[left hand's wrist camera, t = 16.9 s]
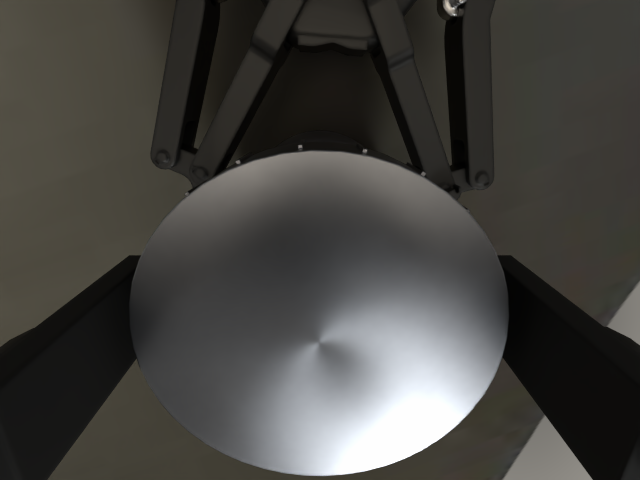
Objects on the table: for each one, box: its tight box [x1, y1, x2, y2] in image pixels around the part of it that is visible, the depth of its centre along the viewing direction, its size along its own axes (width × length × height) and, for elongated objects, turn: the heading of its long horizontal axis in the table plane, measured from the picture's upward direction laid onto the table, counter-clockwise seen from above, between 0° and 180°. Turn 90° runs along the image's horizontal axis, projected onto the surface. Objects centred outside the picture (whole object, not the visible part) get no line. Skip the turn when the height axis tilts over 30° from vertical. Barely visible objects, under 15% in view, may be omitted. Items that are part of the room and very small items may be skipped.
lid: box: [129, 139, 510, 476], centre depth 11 cm, size 10×11×2 cm
